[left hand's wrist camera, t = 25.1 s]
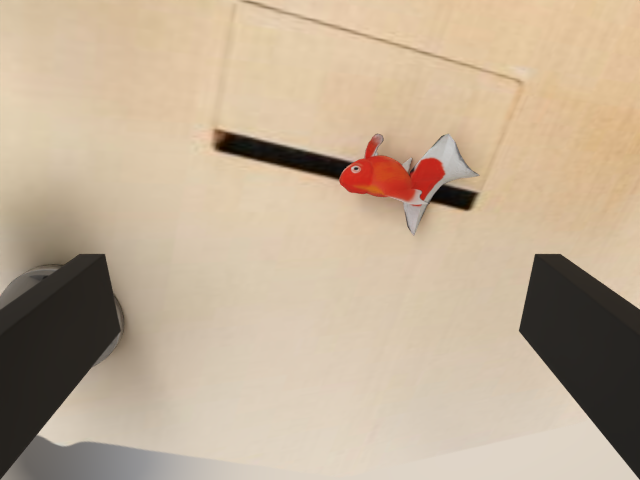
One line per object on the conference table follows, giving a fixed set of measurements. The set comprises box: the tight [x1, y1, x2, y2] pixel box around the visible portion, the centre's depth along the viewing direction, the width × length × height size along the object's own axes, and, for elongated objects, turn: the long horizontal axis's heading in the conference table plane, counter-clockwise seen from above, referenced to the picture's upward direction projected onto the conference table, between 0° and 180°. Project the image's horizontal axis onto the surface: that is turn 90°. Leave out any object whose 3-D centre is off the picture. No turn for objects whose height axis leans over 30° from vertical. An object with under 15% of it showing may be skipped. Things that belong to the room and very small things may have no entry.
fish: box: [339, 134, 480, 236], centre depth 44 cm, size 11×16×10 cm
